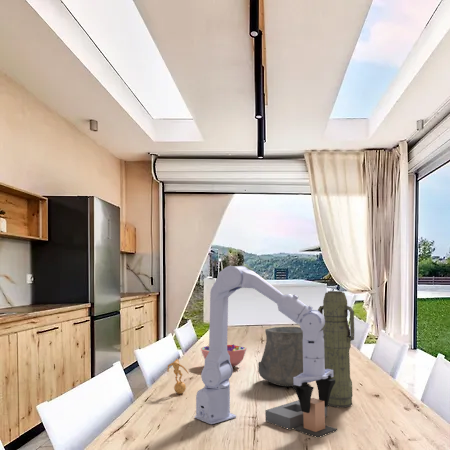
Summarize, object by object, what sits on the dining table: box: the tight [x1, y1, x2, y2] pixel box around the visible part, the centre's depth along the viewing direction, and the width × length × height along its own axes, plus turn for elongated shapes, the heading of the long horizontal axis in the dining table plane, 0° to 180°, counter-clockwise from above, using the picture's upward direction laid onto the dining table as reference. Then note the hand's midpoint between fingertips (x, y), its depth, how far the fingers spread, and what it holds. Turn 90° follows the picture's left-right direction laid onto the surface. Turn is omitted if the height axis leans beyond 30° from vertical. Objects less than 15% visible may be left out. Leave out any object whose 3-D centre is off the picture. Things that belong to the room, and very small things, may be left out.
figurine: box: [166, 358, 189, 395], centre depth 154 cm, size 8×6×12 cm
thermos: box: [317, 290, 355, 408], centre depth 144 cm, size 9×12×35 cm
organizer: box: [264, 399, 328, 430], centre depth 128 cm, size 16×9×3 cm, turn 130°
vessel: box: [257, 326, 303, 387], centre depth 167 cm, size 22×22×20 cm
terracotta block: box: [303, 397, 326, 432], centre depth 120 cm, size 4×4×7 cm
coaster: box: [293, 424, 338, 438], centre depth 119 cm, size 8×8×1 cm
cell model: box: [200, 344, 247, 368], centre depth 194 cm, size 17×20×11 cm
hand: (314, 408), depth 120 cm, fingers open, 7 cm apart
